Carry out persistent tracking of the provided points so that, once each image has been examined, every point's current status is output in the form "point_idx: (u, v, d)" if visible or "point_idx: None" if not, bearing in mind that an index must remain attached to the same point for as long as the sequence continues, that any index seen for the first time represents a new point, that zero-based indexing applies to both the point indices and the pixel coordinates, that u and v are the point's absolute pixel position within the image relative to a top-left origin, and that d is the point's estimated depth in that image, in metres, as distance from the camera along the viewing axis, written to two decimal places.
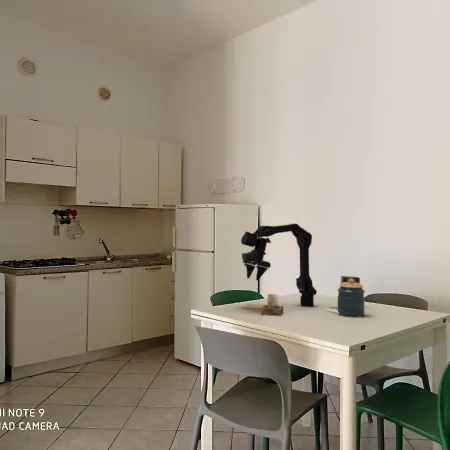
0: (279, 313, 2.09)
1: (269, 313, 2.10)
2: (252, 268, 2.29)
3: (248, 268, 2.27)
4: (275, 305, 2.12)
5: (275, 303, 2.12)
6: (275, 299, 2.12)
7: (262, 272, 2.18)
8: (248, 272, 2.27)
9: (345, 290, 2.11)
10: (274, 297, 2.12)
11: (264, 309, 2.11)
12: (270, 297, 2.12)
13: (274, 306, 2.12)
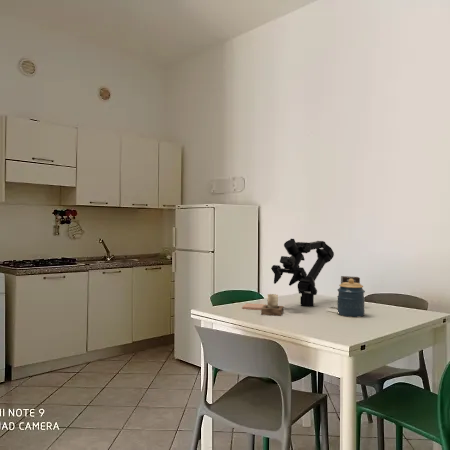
0: (279, 313, 2.09)
1: (269, 313, 2.10)
2: (279, 276, 2.27)
3: (277, 274, 2.26)
4: (275, 305, 2.12)
5: (275, 303, 2.12)
6: (275, 299, 2.12)
7: (296, 280, 2.19)
8: (276, 278, 2.25)
9: (345, 290, 2.11)
10: (274, 297, 2.12)
11: (264, 309, 2.11)
12: (270, 297, 2.12)
13: (274, 306, 2.12)
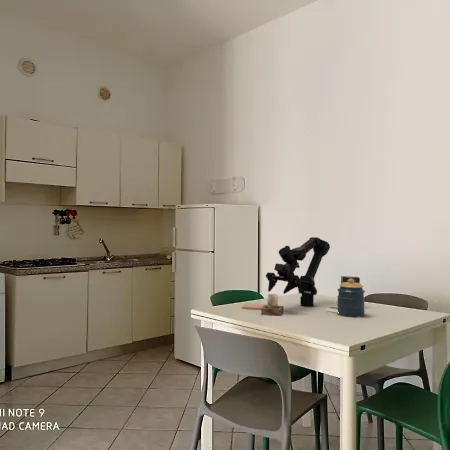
0: (279, 313, 2.09)
1: (269, 313, 2.10)
2: (273, 284, 2.23)
3: (271, 282, 2.22)
4: (275, 305, 2.12)
5: (275, 303, 2.12)
6: (275, 299, 2.12)
7: (290, 288, 2.15)
8: (270, 286, 2.21)
9: (345, 290, 2.11)
10: (274, 297, 2.12)
11: (264, 309, 2.11)
12: (270, 297, 2.12)
13: (274, 306, 2.12)
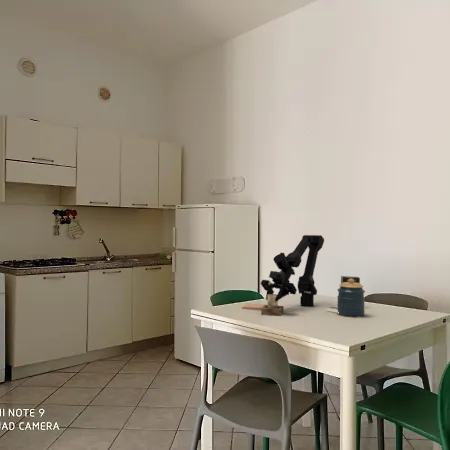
0: (279, 313, 2.09)
1: (269, 313, 2.10)
2: (271, 292, 2.19)
3: (269, 290, 2.18)
4: (275, 305, 2.12)
5: (275, 303, 2.12)
6: None
7: (282, 295, 2.14)
8: None
9: (345, 290, 2.11)
10: (274, 297, 2.12)
11: (264, 309, 2.11)
12: (270, 297, 2.12)
13: (274, 306, 2.12)
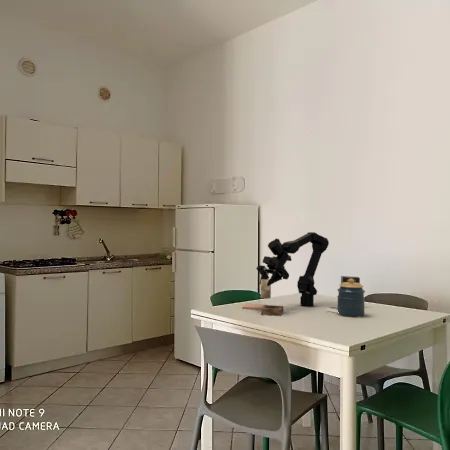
0: (279, 313, 2.09)
1: (269, 313, 2.10)
2: (266, 277, 2.23)
3: (263, 275, 2.22)
4: (267, 289, 2.16)
5: (267, 288, 2.16)
6: None
7: (275, 280, 2.17)
8: None
9: (345, 290, 2.11)
10: (266, 282, 2.16)
11: (264, 309, 2.11)
12: (262, 282, 2.17)
13: (266, 291, 2.16)
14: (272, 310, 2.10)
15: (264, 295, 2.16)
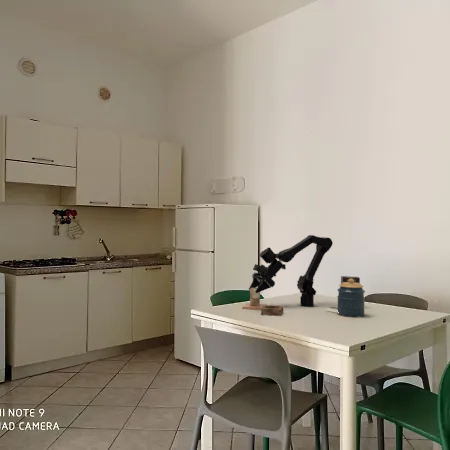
0: (279, 313, 2.09)
1: (269, 313, 2.10)
2: (257, 284, 2.35)
3: (254, 281, 2.34)
4: (255, 298, 2.26)
5: (255, 296, 2.26)
6: (255, 292, 2.26)
7: (264, 288, 2.24)
8: (252, 285, 2.34)
9: (345, 290, 2.11)
10: (254, 290, 2.27)
11: (264, 309, 2.11)
12: (251, 290, 2.28)
13: (253, 299, 2.26)
14: (272, 310, 2.10)
15: (251, 303, 2.27)
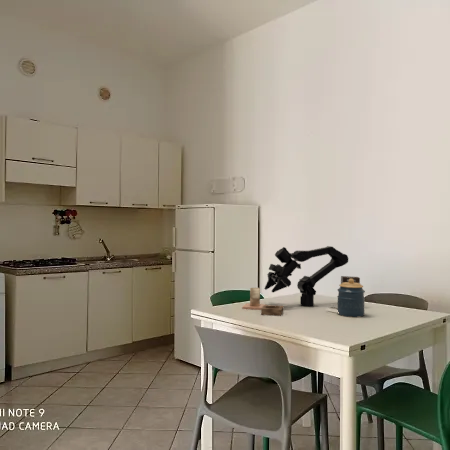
0: (279, 313, 2.09)
1: (269, 313, 2.10)
2: (273, 283, 2.37)
3: (269, 281, 2.37)
4: (255, 298, 2.26)
5: (255, 296, 2.26)
6: (255, 292, 2.26)
7: (280, 287, 2.27)
8: (268, 284, 2.36)
9: (345, 290, 2.11)
10: (254, 290, 2.27)
11: (264, 309, 2.11)
12: (251, 290, 2.28)
13: (253, 299, 2.26)
14: (272, 310, 2.10)
15: (251, 303, 2.27)
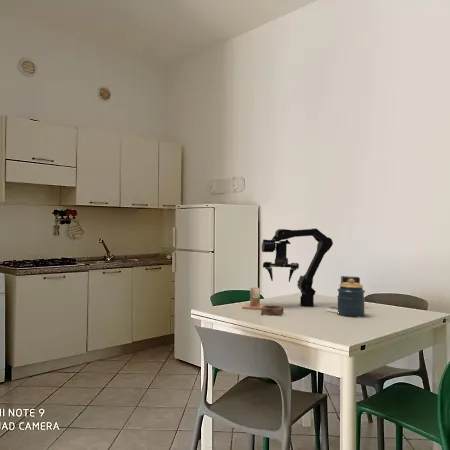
0: (279, 313, 2.09)
1: (269, 313, 2.10)
2: None
3: (271, 272, 2.36)
4: (255, 298, 2.26)
5: (255, 296, 2.26)
6: (255, 292, 2.26)
7: (292, 273, 2.35)
8: (271, 275, 2.36)
9: (345, 290, 2.11)
10: (254, 290, 2.26)
11: (264, 309, 2.11)
12: (251, 290, 2.28)
13: (253, 299, 2.26)
14: (272, 310, 2.10)
15: (251, 303, 2.27)
